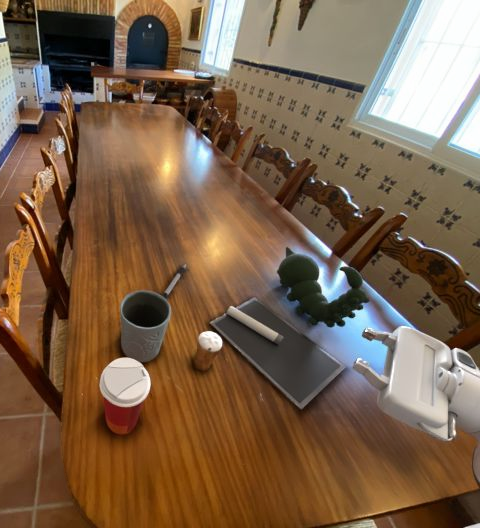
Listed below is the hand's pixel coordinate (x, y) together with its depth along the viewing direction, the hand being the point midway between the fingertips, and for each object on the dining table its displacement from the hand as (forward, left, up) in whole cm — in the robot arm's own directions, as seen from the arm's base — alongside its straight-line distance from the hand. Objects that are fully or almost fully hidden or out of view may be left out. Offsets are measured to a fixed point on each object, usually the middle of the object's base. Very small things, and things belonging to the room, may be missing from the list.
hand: (359, 346), depth 55 cm
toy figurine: (+16, -15, -12) cm, 25 cm away
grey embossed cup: (+27, +29, -12) cm, 42 cm away
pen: (+39, +9, -12) cm, 42 cm away
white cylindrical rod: (+11, +2, -9) cm, 15 cm away
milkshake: (+16, +21, -12) cm, 29 cm away
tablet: (+11, +3, -11) cm, 17 cm away
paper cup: (+16, +41, -12) cm, 46 cm away
